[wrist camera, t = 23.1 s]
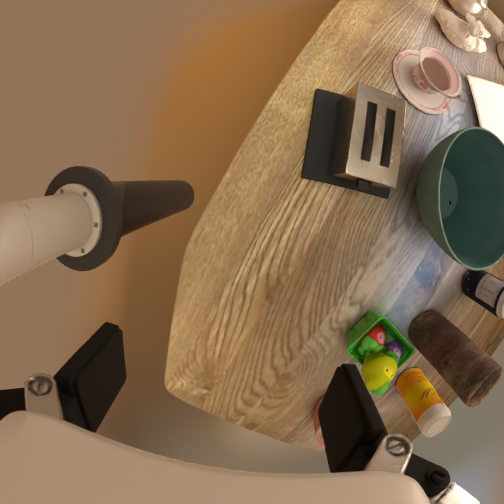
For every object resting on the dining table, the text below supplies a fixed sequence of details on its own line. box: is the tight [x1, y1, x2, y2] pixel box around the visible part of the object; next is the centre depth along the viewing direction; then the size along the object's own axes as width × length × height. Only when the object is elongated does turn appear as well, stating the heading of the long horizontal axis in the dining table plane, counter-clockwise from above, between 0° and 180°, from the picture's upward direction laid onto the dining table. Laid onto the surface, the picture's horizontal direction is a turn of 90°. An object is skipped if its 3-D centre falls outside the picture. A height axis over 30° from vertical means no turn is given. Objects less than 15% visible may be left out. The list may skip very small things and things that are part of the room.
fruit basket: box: [347, 311, 415, 395], centre depth 36 cm, size 11×9×11 cm
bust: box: [435, 8, 491, 53], centre depth 23 cm, size 12×8×11 cm
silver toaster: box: [327, 83, 406, 191], centre depth 29 cm, size 6×12×8 cm, turn 170°
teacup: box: [392, 47, 462, 115], centre depth 28 cm, size 12×12×6 cm
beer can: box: [396, 368, 451, 437], centre depth 37 cm, size 6×6×15 cm
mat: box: [301, 89, 390, 199], centre depth 34 cm, size 13×13×1 cm
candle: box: [409, 311, 502, 407], centre depth 31 cm, size 8×7×20 cm
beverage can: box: [463, 270, 504, 318], centre depth 33 cm, size 6×6×12 cm
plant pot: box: [416, 127, 504, 270], centre depth 29 cm, size 18×18×12 cm
